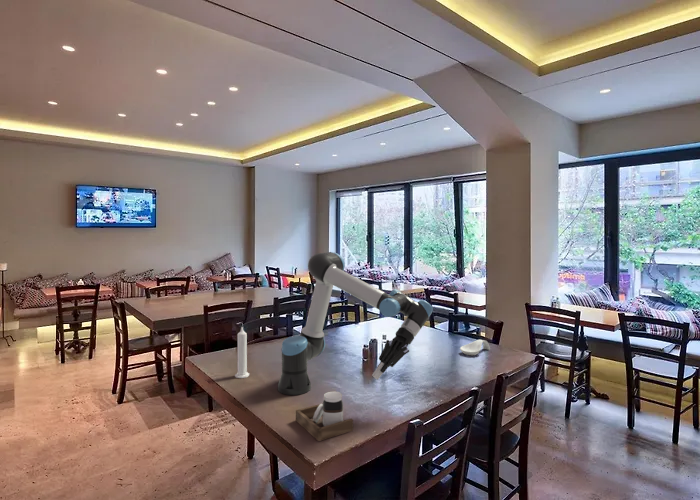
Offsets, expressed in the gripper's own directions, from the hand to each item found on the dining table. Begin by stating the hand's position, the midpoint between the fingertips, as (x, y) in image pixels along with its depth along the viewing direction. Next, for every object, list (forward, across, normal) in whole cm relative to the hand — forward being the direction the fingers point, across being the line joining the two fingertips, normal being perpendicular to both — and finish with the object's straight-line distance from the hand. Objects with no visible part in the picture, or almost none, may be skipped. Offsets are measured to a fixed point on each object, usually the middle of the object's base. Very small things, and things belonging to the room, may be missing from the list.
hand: (374, 377), depth 160 cm
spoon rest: (-62, +34, -82) cm, 109 cm away
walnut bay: (+26, 0, +7) cm, 27 cm away
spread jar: (+26, 0, +5) cm, 26 cm away
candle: (+34, +68, +12) cm, 78 cm away
